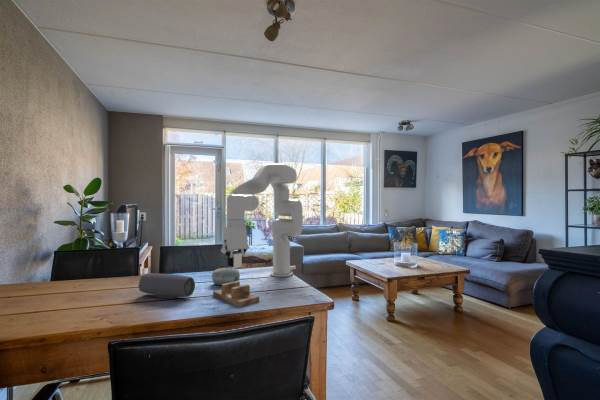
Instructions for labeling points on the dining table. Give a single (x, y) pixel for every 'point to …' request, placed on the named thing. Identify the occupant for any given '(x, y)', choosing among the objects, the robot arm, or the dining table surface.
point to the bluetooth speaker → (167, 285)
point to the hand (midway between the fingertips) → (235, 265)
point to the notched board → (236, 294)
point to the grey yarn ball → (225, 275)
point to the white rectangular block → (237, 259)
